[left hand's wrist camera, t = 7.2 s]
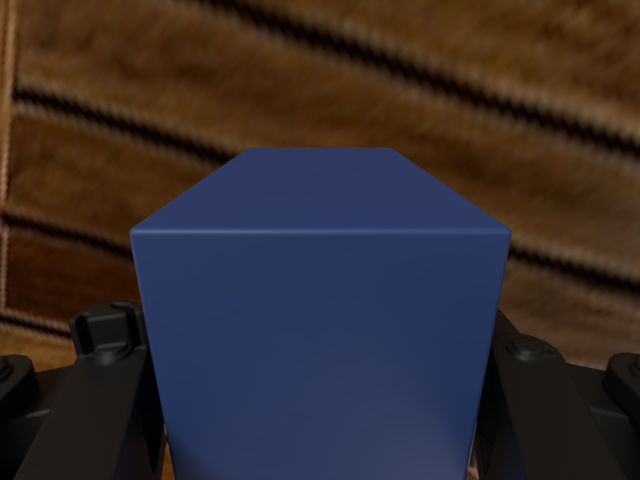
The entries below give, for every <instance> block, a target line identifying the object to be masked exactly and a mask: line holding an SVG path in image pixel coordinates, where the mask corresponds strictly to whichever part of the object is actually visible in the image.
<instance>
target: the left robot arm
mask: <svg viewBox="0 0 640 480" xmlns="http://www.w3.org/2000/svg"><path fill="white" fill-rule="evenodd" d="M68 324H69V328H70V332H71V336H72V339H73V343H74V347H75V350H76V354H77V359H76V361H75V363H74V365H71V366H67V367H62V368H57V369H52V370H47V371H41V372H36V373H35V370H34V367H33V364H32V360H31V359H29V358H28V357H27V356H24V355H16V354H13V355H5V356H0V480H161V477H162V470H163V462H164V455H165V448H166V435H165V429H164V417H163V412H162V407H161V401H160V396H159V391H158V385H157V380H156V375H155V369H154V364H153V359H152V353H151V348H150V343H149V337H148V332H147V327H146V321H145V316H144V311H143V309H142V308H141V306H140V305H139V304H137V303H136V302H131V301H127V300H122V301H110V302H105V303H100V304H97V305H94V306H91V307H88V308H86V309H84V310H82V311H81V312H79V313H77V314H75V315H74V316H73V317H72V318H71V319H70V320H69V321H68ZM476 422H477V424H476V429H475V435H474V440H473V445H472V451H471V456H470V462H469V467H471V468H474V467H475V462H476V461H477V469H478V476H479V480H640V354H634V353H619V354H615V355H613V356H612V357H611V358H609V362H608V365H607V368H606V371H603V370H598V369H593V368H587V367H582V366H577V365H572V364H569V363H566V362H565V360H564V358H563V356H562V355H561V354H560V353H559V352H558V351H557V349H556V348H554V347H553V346H551V345H550V344H548V343H547V342H545V341H543V340H540V339H538V338H535V337H533V336H529V335H525V334H520V333H519V332H518V330H517V329H516V328H515V327H514V326H513V325H512V323H511V322H510V321H509V320H508V319H507V318H506V316H505V315H504V314H503V313H502V312H501V310H499V308H498V309H497V314H496V320H495V325H494V330H493V335H492V341H491V346H490V351H489V357H488V362H487V367H486V373H485V378H484V383H483V389H482V394H481V399H480V404H479V410H478V415H477V420H476Z"/></svg>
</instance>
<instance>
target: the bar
mask: <svg viewBox="0 0 640 480" xmlns="http://www.w3.org/2000/svg"><path fill="white" fill-rule="evenodd" d="M129 236H130V241H131V247H132V252H133V257H134V263H135V268H136V273H137V279H138V284H139V289H140V295H141V300H142V305H143V311H144V316H145V321H146V327H147V332H148V337H149V343H150V348H151V353H152V359H153V364H154V369H155V375H156V380H157V385H158V391H159V396H160V401H161V407H162V412H163V417H164V423H165V428H166V433H167V439H168V444H169V449H170V455H171V460H172V465H173V471H174V476H175V480H465V479H466V473H467V468H468V463H469V457H470V452H471V447H472V442H473V436H474V431H475V426H476V420H477V415H478V410H479V404H480V399H481V394H482V389H483V383H484V378H485V373H486V367H487V362H488V357H489V351H490V346H491V341H492V335H493V330H494V325H495V320H496V314H497V309H498V304H499V298H500V293H501V288H502V282H503V277H504V272H505V267H506V261H507V256H508V251H509V245H510V240H511V231H510V229H509V228H508V227H506V226H505V225H503V224H502V223H501V222H499V221H498V220H496V219H495V218H493V217H492V216H490V215H489V214H487V213H486V212H484V211H483V210H482V209H480V208H479V207H477V206H476V205H474V204H473V203H471V202H470V201H468V200H467V199H465V198H464V197H462V196H461V195H460V194H458V193H457V192H455V191H454V190H452V189H451V188H449V187H448V186H446V185H445V184H443V183H442V182H441V181H439V180H438V179H436V178H435V177H433V176H432V175H430V174H429V173H427V172H426V171H424V170H423V169H422V168H420V167H419V166H417V165H416V164H414V163H413V162H411V161H410V160H408V159H407V158H405V157H404V156H403V155H401V154H400V153H398V152H397V151H395V150H394V149H392V148H248V149H246V150H245V151H243V152H242V153H241V154H239V155H238V156H236V157H235V158H233V159H232V160H230V161H229V162H227V163H226V164H225V165H223V166H222V167H220V168H219V169H217V170H216V171H214V172H213V173H211V174H210V175H209V176H207V177H206V178H204V179H203V180H201V181H200V182H198V183H197V184H195V185H194V186H193V187H191V188H190V189H188V190H187V191H185V192H184V193H182V194H181V195H179V196H178V197H177V198H175V199H174V200H172V201H171V202H169V203H168V204H166V205H165V206H163V207H162V208H161V209H159V210H158V211H156V212H155V213H153V214H152V215H150V216H149V217H147V218H146V219H145V220H143V221H142V222H140V223H139V224H137V225H136V226H134V227H133V228H131V230H130V235H129Z"/></svg>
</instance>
